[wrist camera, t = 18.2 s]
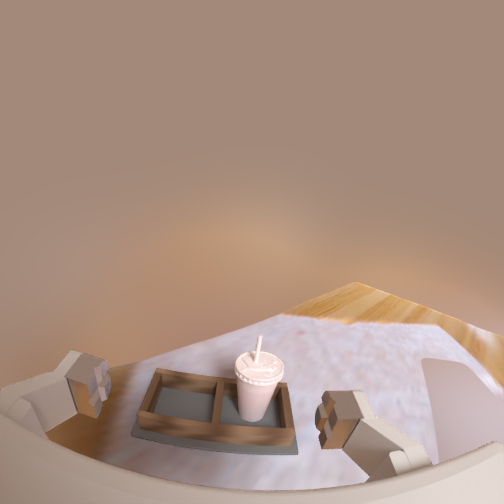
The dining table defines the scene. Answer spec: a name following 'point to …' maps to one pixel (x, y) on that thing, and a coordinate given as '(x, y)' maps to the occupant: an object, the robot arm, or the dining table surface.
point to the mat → (202, 410)
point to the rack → (214, 429)
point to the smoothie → (256, 381)
